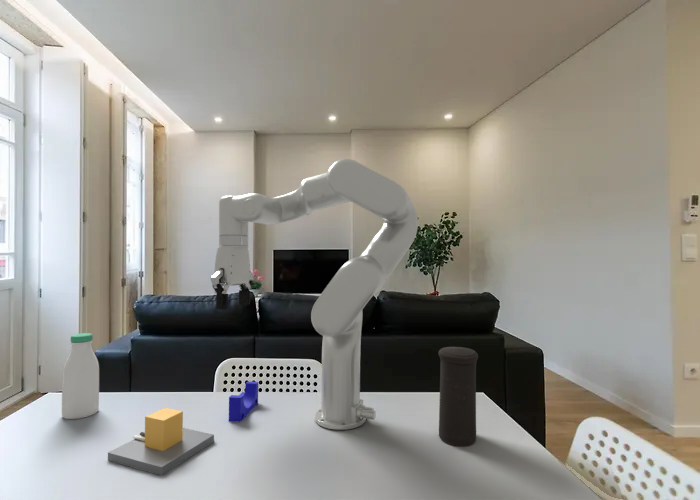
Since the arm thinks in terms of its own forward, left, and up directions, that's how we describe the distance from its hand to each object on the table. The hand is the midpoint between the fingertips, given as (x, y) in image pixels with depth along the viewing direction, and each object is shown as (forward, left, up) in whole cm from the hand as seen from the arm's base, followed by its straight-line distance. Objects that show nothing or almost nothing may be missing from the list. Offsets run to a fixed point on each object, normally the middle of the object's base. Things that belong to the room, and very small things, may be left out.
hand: (233, 306), depth 104 cm
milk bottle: (+33, +18, -27) cm, 46 cm away
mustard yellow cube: (-1, +24, -25) cm, 35 cm away
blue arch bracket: (-4, +2, -27) cm, 27 cm away
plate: (-1, +24, -27) cm, 36 cm away
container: (-57, -5, -27) cm, 64 cm away
